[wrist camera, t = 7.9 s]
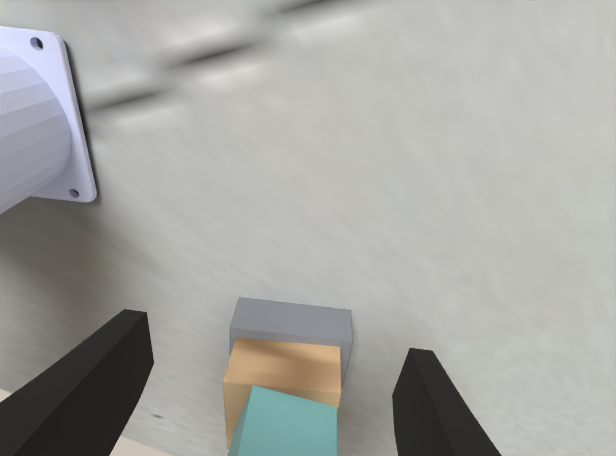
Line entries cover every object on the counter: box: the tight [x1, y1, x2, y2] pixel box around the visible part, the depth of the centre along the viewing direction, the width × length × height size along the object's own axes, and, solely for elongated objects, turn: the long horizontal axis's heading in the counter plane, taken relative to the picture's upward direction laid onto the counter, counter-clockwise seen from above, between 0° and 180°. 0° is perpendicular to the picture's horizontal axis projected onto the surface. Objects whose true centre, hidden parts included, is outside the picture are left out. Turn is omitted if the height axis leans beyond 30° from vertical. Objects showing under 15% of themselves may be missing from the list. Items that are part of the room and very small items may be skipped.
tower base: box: [230, 297, 353, 390], centre depth 24 cm, size 7×7×3 cm
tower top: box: [223, 337, 341, 449], centre depth 21 cm, size 6×6×3 cm
